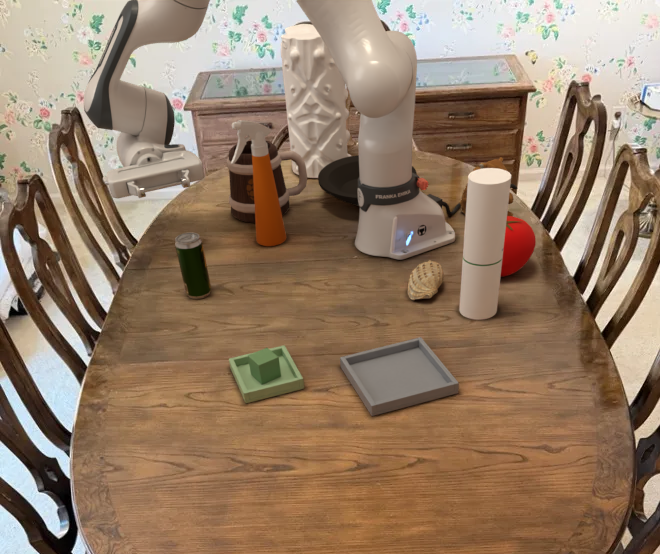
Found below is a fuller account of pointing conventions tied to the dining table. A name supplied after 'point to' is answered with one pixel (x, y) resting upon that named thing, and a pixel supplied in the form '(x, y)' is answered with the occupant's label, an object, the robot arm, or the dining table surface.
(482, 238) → the cylindrical container
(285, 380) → the sage tray
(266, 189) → the spray bottle
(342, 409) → the dining table surface
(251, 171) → the mug
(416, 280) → the seashell
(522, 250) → the tomato
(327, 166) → the plate
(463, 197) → the stuffed squirrel
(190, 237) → the beer can
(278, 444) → the dining table surface
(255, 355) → the green block
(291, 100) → the vase
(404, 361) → the steel tray
